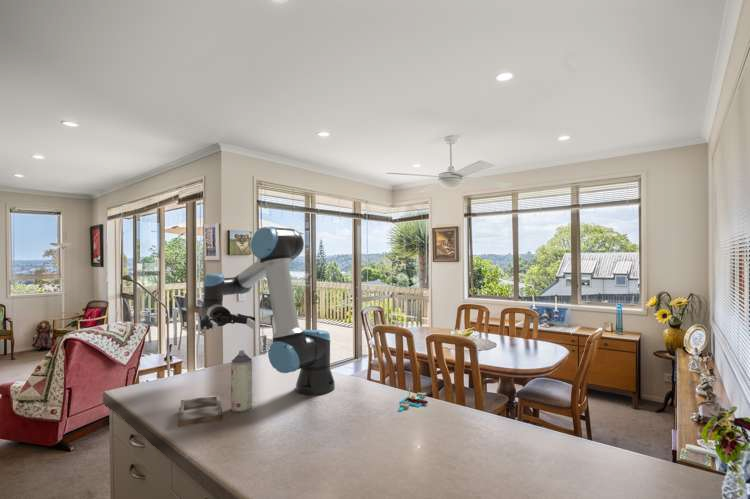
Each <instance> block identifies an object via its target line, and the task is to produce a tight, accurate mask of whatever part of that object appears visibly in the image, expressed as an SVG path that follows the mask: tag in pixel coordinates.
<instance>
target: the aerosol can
mask: <svg viewBox="0 0 750 499" xmlns="http://www.w3.org/2000/svg"><path fill="white" fill-rule="evenodd" d="M230 380H231V381H230V391H231V392H230V394H231V395H230V408H231V410H230V411H231V412H232V413H233V414H243V413H247V412H249V411H251V410H252V409H253V361H252V358H251V357H249V355H247V354H246V353H245V350H243V349H241V350H239V351H238V354H237V355H236V356H235V357H234V358H233V359H231V364H230Z"/></svg>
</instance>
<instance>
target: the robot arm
mask: <svg viewBox="0 0 750 499" xmlns="http://www.w3.org/2000/svg"><path fill="white" fill-rule="evenodd" d="M250 241H251V242H250V250H251V253H252V254H253V255H254V257H256V258H258V259H257V260H256V261H255V262H254V263H253V264H251V265H250V266H248V267H247V268H245V269H244V270H243V271H241V272H240V273H239V274H237V275H236V276H235V277H234V276H233V277H225V276H224V274H223V273H208V274H206V275H205V277H204V284H203V285H204V288H203V289H204V290H203V292H204V293H203V300H202V301H203V303H202V305H201V306H200V314H201V315H202V316H203V318H202V319H201V320H200V328H205V330H206V331H207V330H209V331H210V329H211V330H212V331H213V332H214V333H217V332H218V327H224V326H226V325H227V324H231V325H234V324H241V325H246V327H247V326H248V328H250V329H252V330H255V328H256V327H255V326H256V324H255V323H256V317H255V316H252V315H244V314H241V313H237V314H233V313H231V311H230V310H229V309H228V308H226V307H225V306H224V305H223V299H224V296H229V295H243V294H246V293H249V292H250V291H252V288H253V285H255V284H257V283H258V282H259V281H260V280H262V279H263V278H265V277H266V280H267V287H268V292H269V298H270V299H269V300H270V303H271V311H272V316H273V317H272V318H273V322H274V329H275V332H274V334H273V336H272V344H270V346H269V349H268V352H267V356H268V360H269V362H270V365H271V367H272V368H273V369H275V370H276V371H277V372H278V373H282V374H289V373H294V372H296V371H298V370H300V371H299V373H298V374H299V375H298V377H297V381H296V384H295V391H296V392H297V393H299V394H303V395H310V396H313V395H317V396H318V395H323V394H328V393H330V392H332V391H333V390H335V388H336V386H335V383H336V382H335V379H334V376H333V373H332V371H331V336H330V332H329V331H327V330H319V329H302V328H301V327H300V324H299V320H298V319H299V318H298V313H297V307H296V300H295V296H294V289H293V285H292V284H293V283H292V279H291V278H292V277H291V272H290V267H289V266H290V265H289V264H290V263H291V262H292V261H293V260H295V259H296V258H298V257H299V256H300V255H301V253H302V252H303V250H304V246H305V243H304V238H303V236H302V234H301V232H299V231H298V230H295V229H293V228H288V227H287V228H285V227H275V226H263V227H260V228H259V229H257V230H256V231H255V232H254V234H253V236H252V237H251V240H250Z"/></svg>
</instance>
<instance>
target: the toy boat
mask: <svg viewBox="0 0 750 499" xmlns="http://www.w3.org/2000/svg"><path fill="white" fill-rule="evenodd" d="M427 394H428V393H427V392H417V393H416V396H414V395H412V396H411V388H410V387H409V388H408V395H407V396H406V397H404V398H402V399H401V400H399V408H398V409H397V412H400V413H401V412H403V411H404V410H409V409H410V406H411V407H413V408H414V407H416V408H420V407H421V406H423V405H427V404H428V402H429V401H428V400H426V399H425V398H426V395H427ZM422 396H423V397H422Z"/></svg>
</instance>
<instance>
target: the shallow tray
mask: <svg viewBox="0 0 750 499" xmlns="http://www.w3.org/2000/svg"><path fill="white" fill-rule="evenodd" d="M220 399H221V398H220V395H219V394H217V395H210V396H209V395H208V396H203V397H201V396H200V397H196V398H186V399H181V400H180V406H179V407H178V408H179V410H178V419H177V420H178V421H177V426H178V427H183V426H190V425H196V424H203V423H209V422H216V421H220V420H223V419H224V413H223V409H222V408H223V407H222V402H221V400H220Z"/></svg>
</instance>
